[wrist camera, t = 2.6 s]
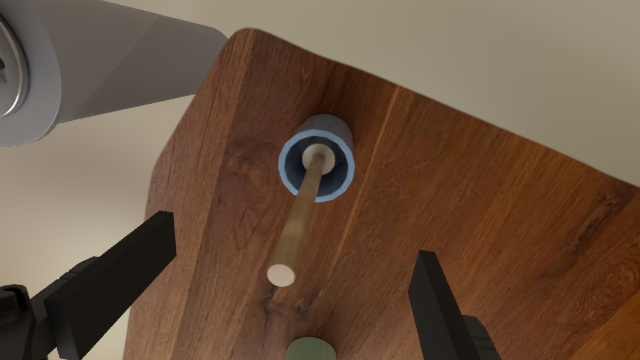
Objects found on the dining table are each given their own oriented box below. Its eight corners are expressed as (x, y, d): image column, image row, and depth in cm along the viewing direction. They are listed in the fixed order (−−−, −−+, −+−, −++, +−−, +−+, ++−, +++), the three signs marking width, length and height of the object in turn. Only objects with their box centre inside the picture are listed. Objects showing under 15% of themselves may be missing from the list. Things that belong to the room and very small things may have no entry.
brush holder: (282, 138, 37) (263, 160, 29) (328, 101, 35) (322, 113, 27) (319, 181, 39) (310, 214, 31) (365, 149, 37) (369, 174, 29)
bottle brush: (303, 142, 37) (230, 267, 14) (325, 124, 36) (284, 231, 13) (321, 163, 37) (278, 314, 15) (343, 147, 36) (331, 283, 14)
